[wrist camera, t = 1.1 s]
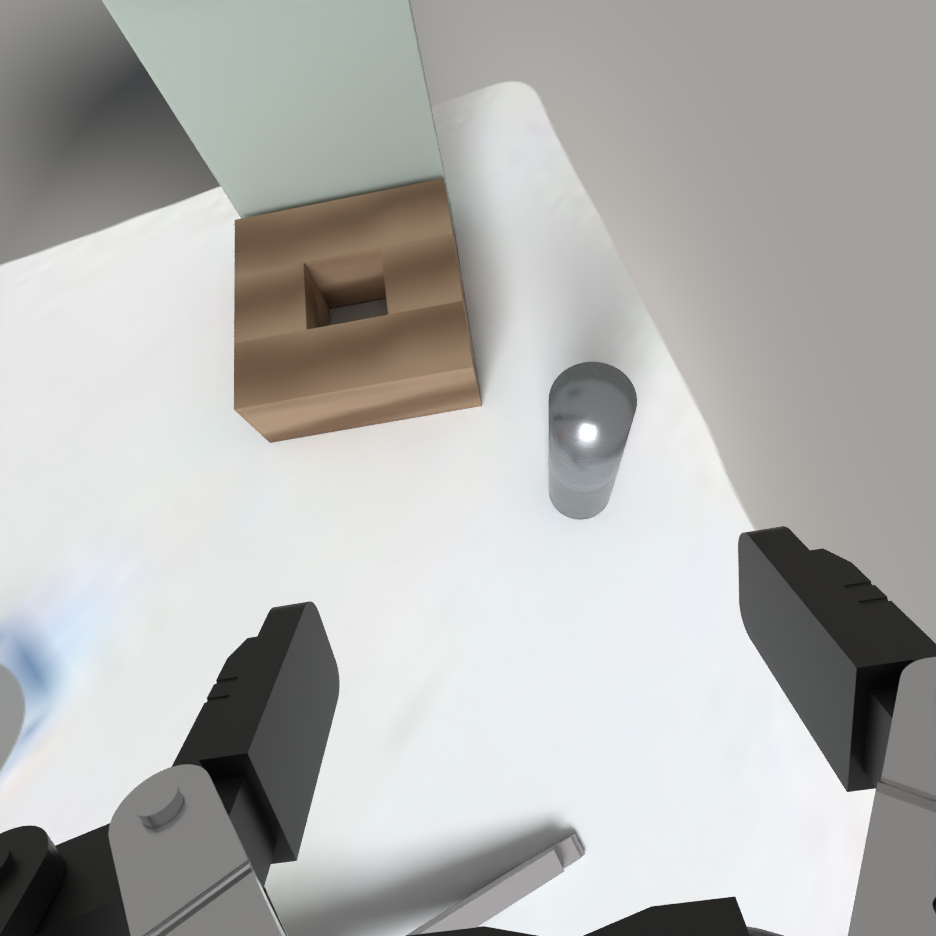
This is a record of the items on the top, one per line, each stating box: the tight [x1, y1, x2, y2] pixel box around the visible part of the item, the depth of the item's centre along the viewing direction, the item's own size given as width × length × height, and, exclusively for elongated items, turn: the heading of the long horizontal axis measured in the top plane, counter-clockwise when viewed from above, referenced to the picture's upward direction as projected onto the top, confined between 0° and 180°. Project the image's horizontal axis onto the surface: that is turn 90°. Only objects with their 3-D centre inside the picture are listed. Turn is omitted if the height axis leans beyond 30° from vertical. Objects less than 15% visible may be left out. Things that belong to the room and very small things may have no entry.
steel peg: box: [549, 362, 637, 519], centre depth 32 cm, size 4×4×12 cm
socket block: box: [234, 178, 482, 443], centre depth 41 cm, size 14×14×5 cm
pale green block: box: [102, 0, 453, 222], centre depth 33 cm, size 11×14×25 cm
